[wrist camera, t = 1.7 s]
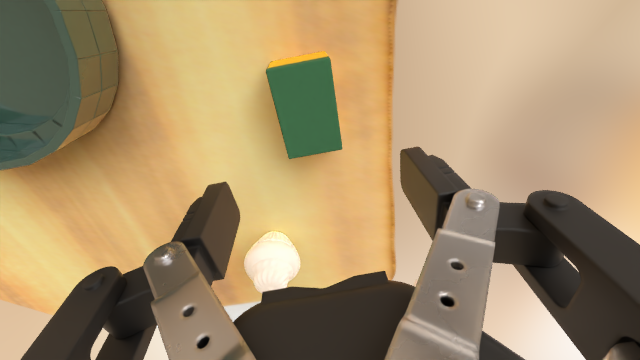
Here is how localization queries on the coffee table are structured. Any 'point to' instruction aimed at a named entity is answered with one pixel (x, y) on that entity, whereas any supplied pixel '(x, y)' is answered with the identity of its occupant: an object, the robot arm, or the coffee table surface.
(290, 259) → the muffin
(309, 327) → the robot arm
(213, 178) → the coffee table surface
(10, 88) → the bowl
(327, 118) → the sponge
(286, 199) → the coffee table surface
